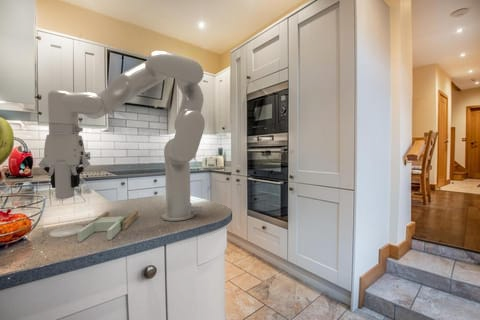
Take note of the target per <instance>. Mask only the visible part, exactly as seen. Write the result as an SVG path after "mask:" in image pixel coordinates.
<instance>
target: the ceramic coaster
mask: <svg viewBox="0 0 480 320" xmlns="http://www.w3.org/2000/svg"><path fill="white" fill-rule="evenodd" d="M84 227H85V226H84V225H79V224H78V225H77V224H75V225H67V226H61V227H59V228H55V229H53V230H51V231H49V237H50V238H55V239H56V238H57V239H58V238H67V237H72V236H75V235H78V231H79V230H81V229H82V228H84Z"/></svg>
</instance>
